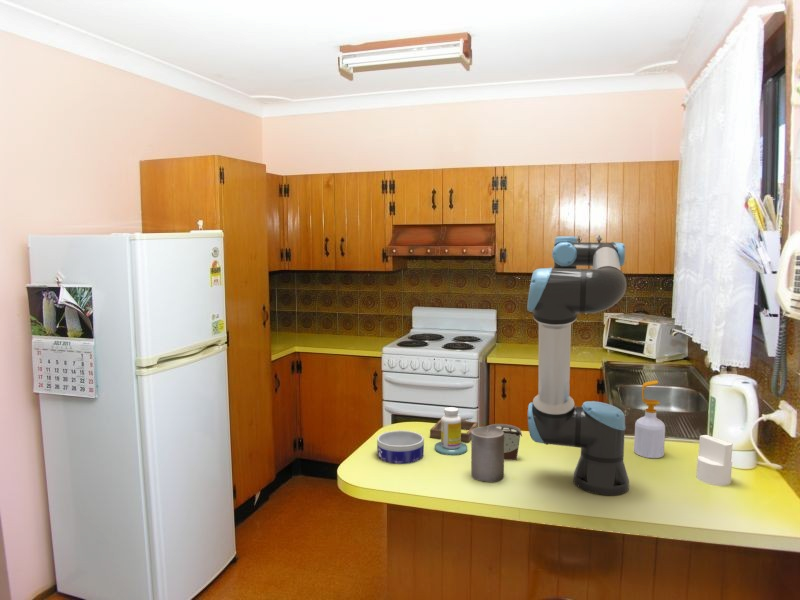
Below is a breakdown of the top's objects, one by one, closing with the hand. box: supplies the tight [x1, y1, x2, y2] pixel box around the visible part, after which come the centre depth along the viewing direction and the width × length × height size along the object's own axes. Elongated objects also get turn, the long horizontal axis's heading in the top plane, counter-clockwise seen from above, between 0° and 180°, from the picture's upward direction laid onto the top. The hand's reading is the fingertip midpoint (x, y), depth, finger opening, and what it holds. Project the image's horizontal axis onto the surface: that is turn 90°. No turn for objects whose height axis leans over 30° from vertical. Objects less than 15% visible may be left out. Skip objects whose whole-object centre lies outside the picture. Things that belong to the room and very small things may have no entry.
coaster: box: [434, 441, 468, 456], centre depth 194 cm, size 11×11×1 cm
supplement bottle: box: [440, 406, 462, 449], centre depth 193 cm, size 7×7×13 cm
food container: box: [487, 423, 523, 461], centre depth 188 cm, size 12×6×10 cm, turn 84°
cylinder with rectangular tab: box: [695, 434, 733, 487], centre depth 170 cm, size 9×9×12 cm
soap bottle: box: [633, 379, 666, 459], centre depth 189 cm, size 9×9×25 cm
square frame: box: [429, 418, 479, 444], centre depth 209 cm, size 14×14×3 cm
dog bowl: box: [376, 430, 425, 465], centre depth 189 cm, size 15×15×6 cm
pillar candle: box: [470, 425, 505, 483], centre depth 172 cm, size 10×10×15 cm
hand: (562, 342), depth 201 cm, fingers open, 13 cm apart
